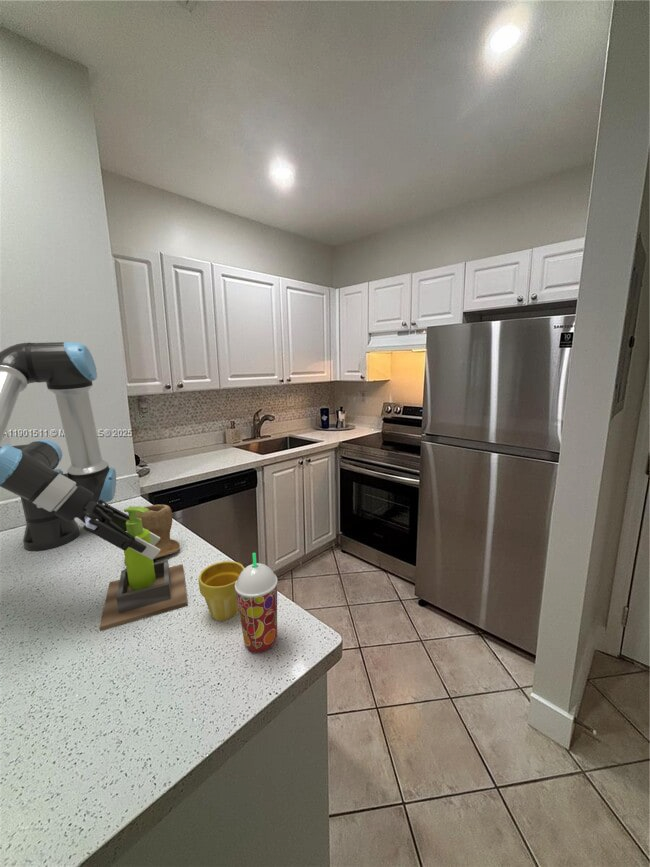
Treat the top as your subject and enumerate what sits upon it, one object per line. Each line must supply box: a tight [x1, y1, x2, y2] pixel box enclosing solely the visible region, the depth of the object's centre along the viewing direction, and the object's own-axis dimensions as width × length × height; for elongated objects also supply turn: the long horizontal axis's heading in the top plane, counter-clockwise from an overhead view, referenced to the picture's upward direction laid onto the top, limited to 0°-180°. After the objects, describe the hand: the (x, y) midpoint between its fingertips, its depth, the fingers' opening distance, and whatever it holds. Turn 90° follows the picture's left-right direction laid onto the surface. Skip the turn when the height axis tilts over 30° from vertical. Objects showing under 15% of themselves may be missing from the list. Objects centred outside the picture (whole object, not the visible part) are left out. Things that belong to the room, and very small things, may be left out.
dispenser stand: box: [98, 559, 188, 632], centre depth 88 cm, size 18×18×5 cm
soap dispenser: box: [123, 505, 156, 590], centre depth 85 cm, size 6×7×20 cm
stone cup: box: [123, 504, 181, 567], centre depth 106 cm, size 15×12×15 cm
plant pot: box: [198, 560, 245, 621], centre depth 81 cm, size 10×10×10 cm
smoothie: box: [235, 552, 279, 653], centre depth 71 cm, size 8×8×20 cm
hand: (156, 548), depth 88 cm, fingers closed on soap dispenser, 6 cm apart
